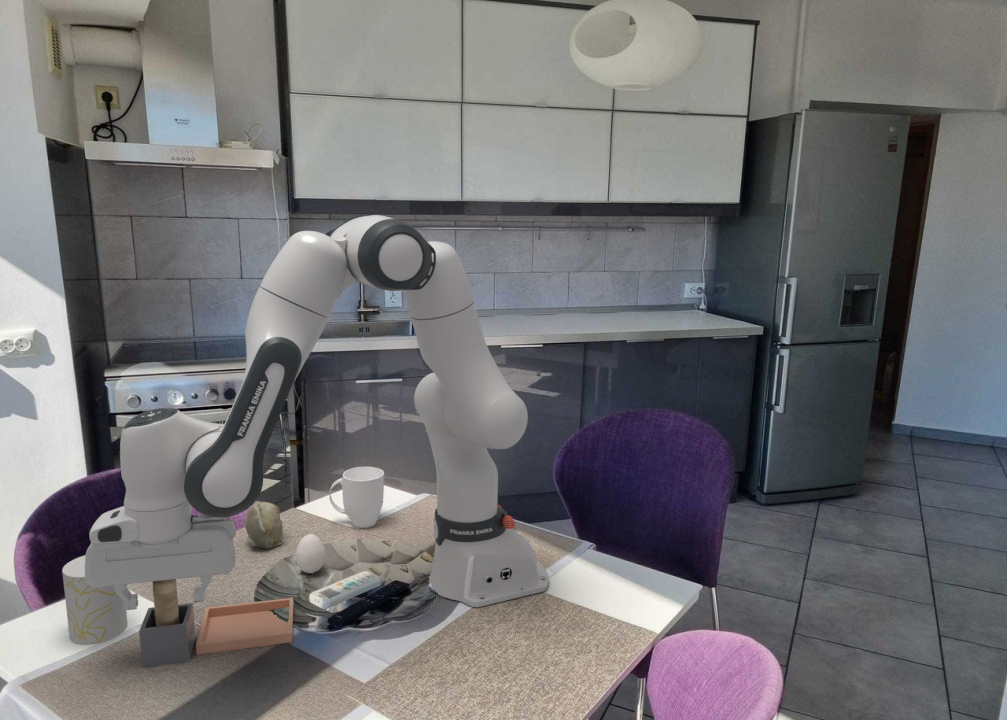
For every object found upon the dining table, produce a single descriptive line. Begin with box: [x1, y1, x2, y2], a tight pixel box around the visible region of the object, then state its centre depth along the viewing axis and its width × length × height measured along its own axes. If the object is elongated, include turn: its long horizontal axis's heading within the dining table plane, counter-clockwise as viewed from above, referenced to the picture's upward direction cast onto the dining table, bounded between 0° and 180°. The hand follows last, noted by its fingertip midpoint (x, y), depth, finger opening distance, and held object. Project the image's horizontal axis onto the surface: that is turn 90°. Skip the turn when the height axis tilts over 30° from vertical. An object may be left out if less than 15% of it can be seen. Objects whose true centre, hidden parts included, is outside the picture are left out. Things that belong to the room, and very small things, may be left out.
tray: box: [195, 597, 294, 655], centre depth 116 cm, size 14×11×2 cm
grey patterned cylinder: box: [61, 554, 129, 646], centre depth 113 cm, size 8×8×12 cm
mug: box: [329, 466, 385, 529], centre depth 156 cm, size 12×9×12 cm
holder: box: [138, 602, 197, 669], centre depth 109 cm, size 6×6×7 cm
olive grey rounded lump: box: [244, 500, 284, 549], centre depth 146 cm, size 9×8×10 cm
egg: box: [295, 533, 326, 573], centre depth 135 cm, size 5×5×8 cm
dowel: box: [151, 579, 179, 627], centre depth 108 cm, size 3×3×12 cm
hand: (166, 604), depth 107 cm, fingers open, 8 cm apart
